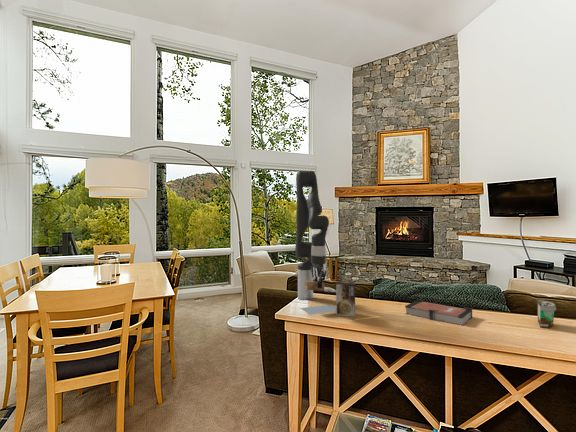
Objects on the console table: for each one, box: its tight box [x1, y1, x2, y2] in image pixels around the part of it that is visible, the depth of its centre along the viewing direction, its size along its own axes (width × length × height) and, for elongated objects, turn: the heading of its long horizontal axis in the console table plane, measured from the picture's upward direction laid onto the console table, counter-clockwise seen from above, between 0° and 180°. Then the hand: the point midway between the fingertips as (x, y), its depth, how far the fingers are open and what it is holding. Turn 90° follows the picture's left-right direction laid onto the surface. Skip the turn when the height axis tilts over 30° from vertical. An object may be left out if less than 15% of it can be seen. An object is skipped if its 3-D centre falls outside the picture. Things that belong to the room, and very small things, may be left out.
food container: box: [537, 299, 557, 329], centre depth 148 cm, size 12×6×10 cm, turn 148°
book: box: [404, 298, 473, 327], centre depth 163 cm, size 26×18×5 cm
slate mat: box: [300, 304, 336, 316], centre depth 172 cm, size 12×18×1 cm, turn 112°
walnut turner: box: [304, 280, 336, 293], centre depth 172 cm, size 16×7×4 cm, turn 113°
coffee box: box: [335, 281, 356, 317], centre depth 164 cm, size 9×6×16 cm
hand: (318, 287), depth 172 cm, fingers closed on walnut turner, 3 cm apart
